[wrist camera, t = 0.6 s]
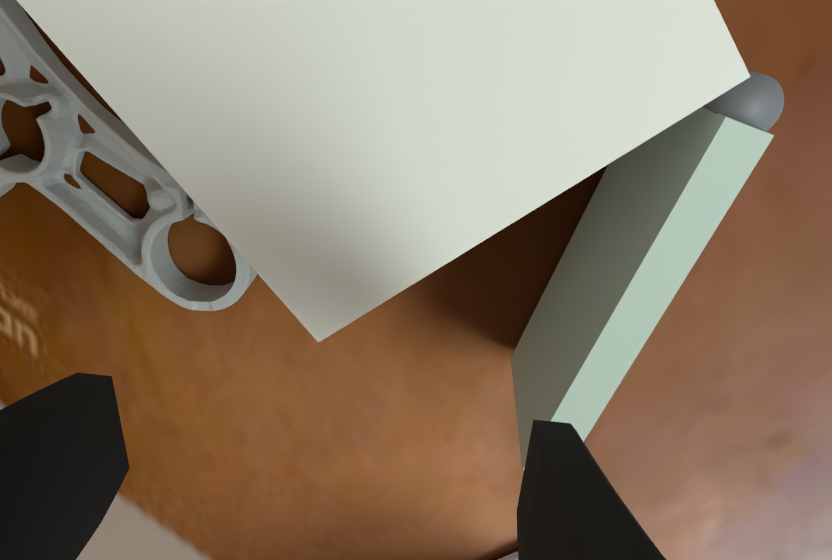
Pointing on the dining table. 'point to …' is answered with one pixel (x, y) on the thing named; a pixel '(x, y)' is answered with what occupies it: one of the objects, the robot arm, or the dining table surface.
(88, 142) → the bracket
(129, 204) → the dining table surface
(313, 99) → the cabinet
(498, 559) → the robot arm
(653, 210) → the cabinet door
